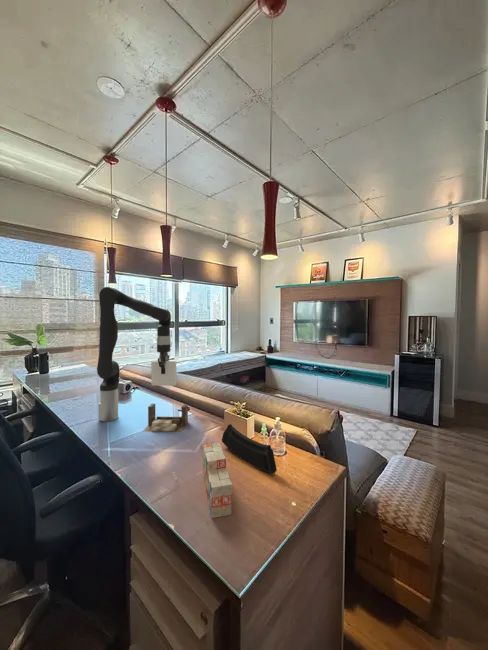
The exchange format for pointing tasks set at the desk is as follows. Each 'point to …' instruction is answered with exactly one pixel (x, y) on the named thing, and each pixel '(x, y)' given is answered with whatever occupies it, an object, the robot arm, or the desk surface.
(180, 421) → the rack
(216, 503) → the stack of blocks
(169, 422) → the offcut upper
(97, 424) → the desk surface
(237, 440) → the magazine
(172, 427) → the offcut lower
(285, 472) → the desk surface
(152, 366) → the white square panel
